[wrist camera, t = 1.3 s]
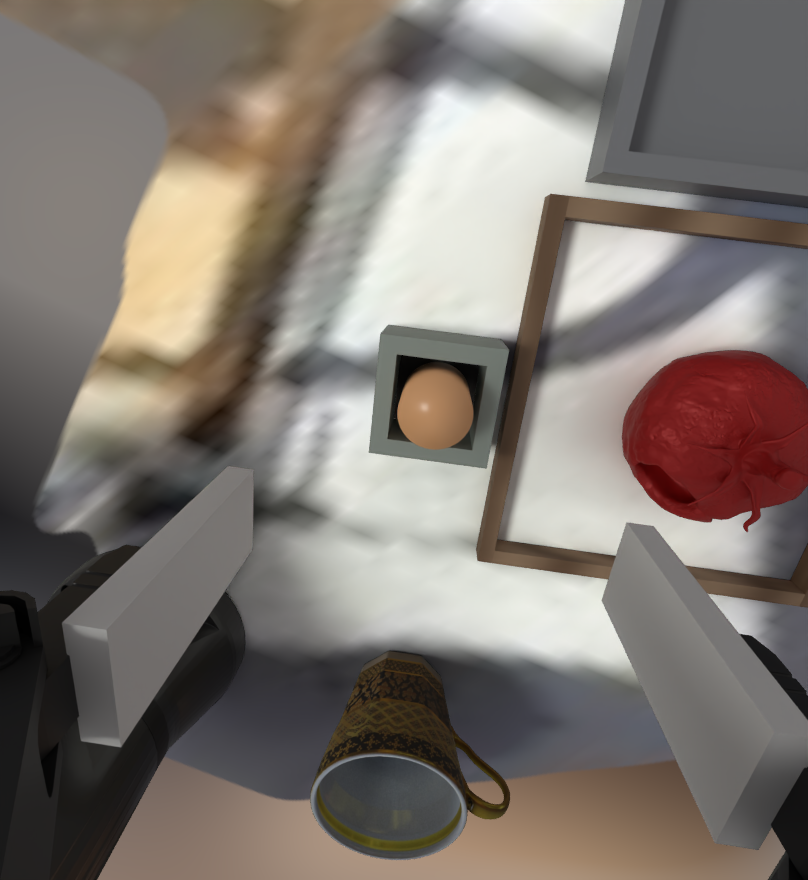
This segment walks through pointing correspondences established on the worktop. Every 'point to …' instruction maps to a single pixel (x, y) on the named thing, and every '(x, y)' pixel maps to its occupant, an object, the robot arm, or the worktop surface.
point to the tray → (708, 100)
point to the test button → (435, 406)
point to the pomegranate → (719, 436)
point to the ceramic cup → (397, 766)
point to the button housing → (447, 348)
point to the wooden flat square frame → (804, 583)
